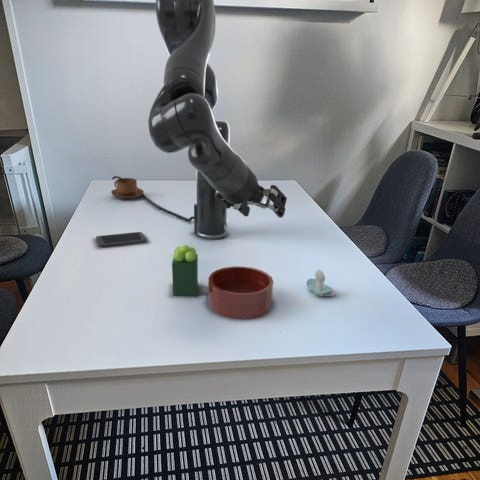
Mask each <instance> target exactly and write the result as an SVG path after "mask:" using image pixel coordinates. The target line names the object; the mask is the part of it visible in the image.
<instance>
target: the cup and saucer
mask: <svg viewBox="0 0 480 480" xmlns="http://www.w3.org/2000/svg"><path fill="white" fill-rule="evenodd" d="M113 183H114V187H115V189H112V190H111V193H110V194H111V195H112V196H113V197H115V198H117V199H124V200H131V199H138V198H139V197H141V196H142V194H144V189H141V188H138V187H137V186H138V181H137V179H136V178H131V177H121V179H118V178H117V180H115V181H114V182H113Z"/></svg>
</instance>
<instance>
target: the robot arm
mask: <svg viewBox="0 0 480 480" xmlns="http://www.w3.org/2000/svg"><path fill="white" fill-rule="evenodd" d="M215 8H216V7H215V2H214V0H155V16H156V21H157V26H158V29H159V32H160V35H161V38H162V42H163V43H164V46H165V50H166V53H167V54H168V58H167V60H166V63H165V66H164V71H163V72H164V73H163V81H162V87H161V89H160V90H159V92H158V93H157V95H156V97H155V100H154V101H153V103H152V105H151V107H150V110H149V113H148V117H147V118H148V119H147V130H148V134H149V137H150V139H151V141H152V143H153V145H154V146H155V147H156V148H157V149H158V150H159V151H161V152H163V153H166V154H174V153H177V152H180V151H182V150H184V149H186V148H187V153H186V154H187V159H188V161H189V163H190V164H191V166H193V168H194V169H195V171H196V173H195V175H196V177H195V178H196V202H194V203H193V215H192V216H190V217H189V218H187V217H185V216H182V215H180V214H179V213H175V212H174V211H171V210H168V209H166V208H165V207H162V206H160V205H158V204H157V203H155V202H153V200H151V199H150V198H149V197H147V196H146V194H144V193H143V194H142V195H141V196H142V198H144V199H145V200H146V201H147V202H148V203H150V204H151V205H152V206H154V207H156V208H157V209H159V210H161V211H163V212H165V213H167V214H169V215H172V216H175V217H177V218H179V219H181V220H183V221H186V222H191V221H193V234H194V235H197V236H198V237H199V238H203V239H207V240H217V239H222V238H225V237H226V236H227V228H228V222H227V219H228V218H227V216H228V215H227V213H228V209H231V208H232V209H233V210H234V211H238V212H239V213H240V214H241V215H243V216H244V217H249V215H250V212H251V207H250V205H251V206H256V207H257V208H258V207H259V208H261V209H264V210H266V209H269V210H271V211H272V212H273V213H274V214H275V215H276V216H277V218H281V219H283V217H284V216H285V214H286V213H285V212H286V204H287V200H288V197H287V196H286V195H285V194H284V192H282V191H281V190H280V189H279V187H278V186H277V185H275V184H271V185H270V188H264V187H263V186H262V185H260V184H259V182H258V181H259V180H258V178H257V175H256V174H255V172H254V171H253V170H252V169H251V168H250V166H249V165H248V164H247V163H246V162H245V161H244V159H243V158H242V157H241V156H240V154H238V153H237V152H236V151H235V150H234V149H233V148H232V147H231V146H230V140H231V139H230V138H231V130H230V129H231V128H230V125H229V122H227V121H225V120H215V117H214V113H213V111H214V110H215V108H216V106H217V104H218V101H219V90H218V83H217V82H218V81H217V76H216V74H215V71H214V70H213V68H212V67H211V66H210V64H209V63H208V62H209V58H210V55H211V51H212V48H213V44H214V39H215V35H216V24H217V23H216V10H215ZM121 178H122V177H121V176H119V175H114V176H112V178H111V180H115V179H117V180H118V179H121ZM263 199H264V200H263ZM262 201H263V202H262ZM270 202H271V203H272V204H271V203H270Z"/></svg>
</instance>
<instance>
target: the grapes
mask: <svg viewBox="0 0 480 480" xmlns="http://www.w3.org/2000/svg"><path fill="white" fill-rule="evenodd" d="M173 252H174V253H173V256H172V257H173V258H172V261H171V274H172V275H171V276H172V295H173V296H175V297H177V296H178V297H179V296H180V297H181V296H182V297H197V296H198V288H199V257H198V256H199V255H198V253H197V249H196V248H195V247H193V246H189V245H187V244H182V245H181V246H177V247H176V248H174V251H173Z"/></svg>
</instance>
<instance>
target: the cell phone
mask: <svg viewBox="0 0 480 480" xmlns="http://www.w3.org/2000/svg"><path fill="white" fill-rule="evenodd" d="M95 240H96V242H97V243H96V244H97V246H98V247H100V248H104V247H105V248H106V247H115V246H123V245H125V246H126V245H132V244H133V245H134V244H141V243H143V244H144V243H146V242H147V240H148V239H147V238H146V237H145V235H144V232H141V231H134V232H123V233H115V234H106V235H105V234H103V235H97V236H95Z"/></svg>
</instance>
